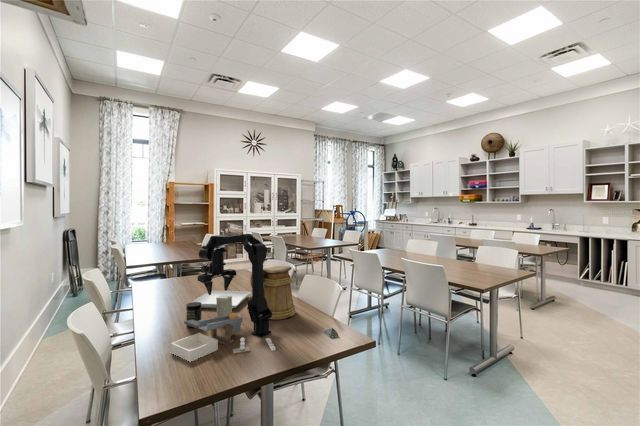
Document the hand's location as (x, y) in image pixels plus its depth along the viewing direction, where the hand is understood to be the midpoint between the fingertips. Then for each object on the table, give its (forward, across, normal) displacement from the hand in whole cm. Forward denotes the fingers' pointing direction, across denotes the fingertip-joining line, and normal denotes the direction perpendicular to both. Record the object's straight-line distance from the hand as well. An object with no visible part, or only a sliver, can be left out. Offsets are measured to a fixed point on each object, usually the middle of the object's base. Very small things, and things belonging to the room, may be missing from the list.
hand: (217, 292), depth 154 cm
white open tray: (+14, +25, +19) cm, 34 cm away
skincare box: (+14, -2, +2) cm, 15 cm away
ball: (+6, +6, +18) cm, 20 cm away
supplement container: (+14, +10, -5) cm, 18 cm away
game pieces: (+15, -3, +42) cm, 45 cm away
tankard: (+15, -23, +15) cm, 31 cm away
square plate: (+15, -21, -23) cm, 34 cm away
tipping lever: (+11, +13, +14) cm, 22 cm away
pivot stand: (+14, +13, +18) cm, 27 cm away
